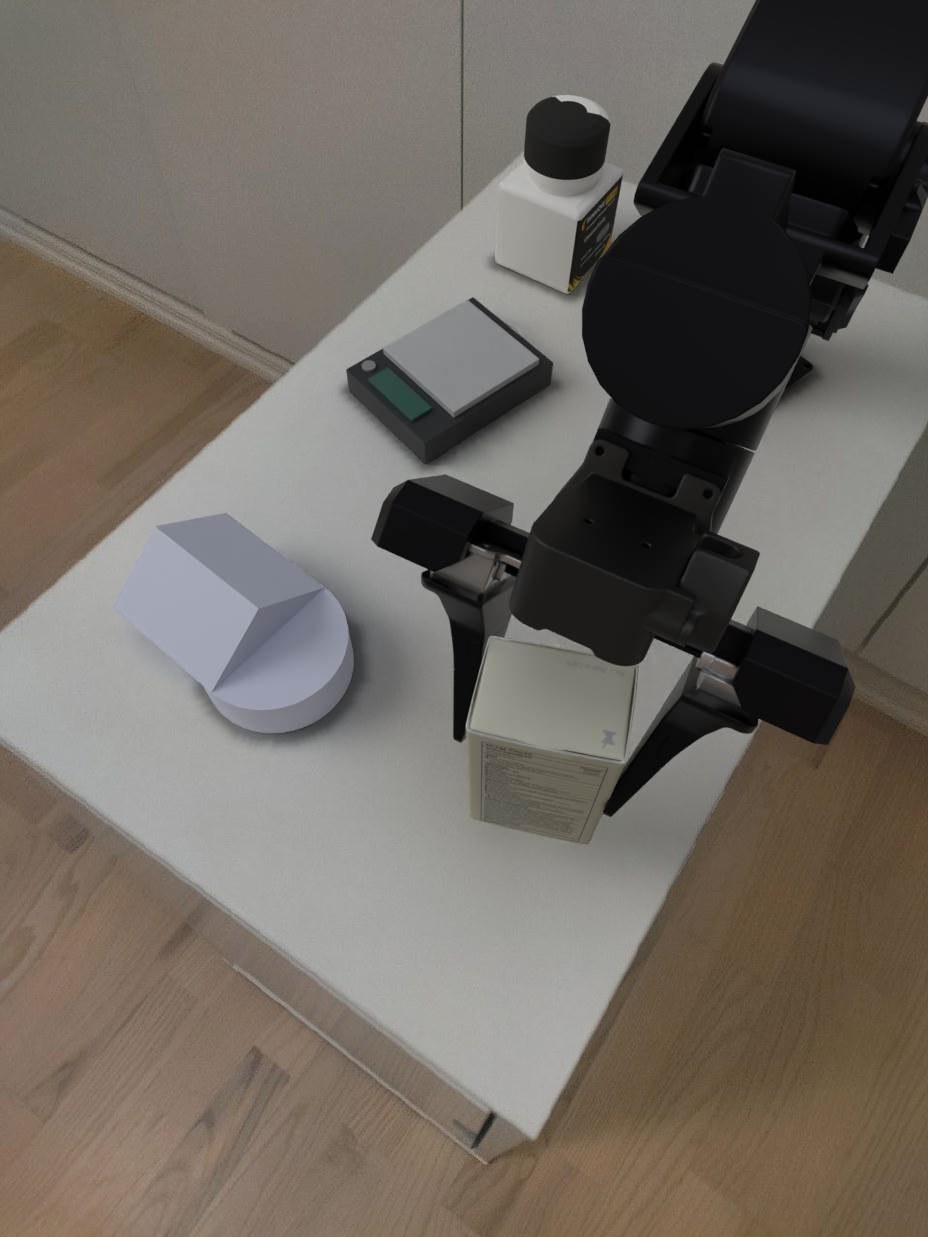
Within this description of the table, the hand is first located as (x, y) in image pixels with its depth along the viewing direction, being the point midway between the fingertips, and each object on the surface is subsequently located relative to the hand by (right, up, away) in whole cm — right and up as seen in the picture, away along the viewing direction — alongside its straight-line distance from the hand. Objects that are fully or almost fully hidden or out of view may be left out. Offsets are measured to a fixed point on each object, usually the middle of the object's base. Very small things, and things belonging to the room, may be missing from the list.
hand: (531, 774), depth 37 cm
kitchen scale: (-4, +24, +27) cm, 36 cm away
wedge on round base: (-16, +5, +16) cm, 23 cm away
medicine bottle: (+4, +37, +35) cm, 51 cm away
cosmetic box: (+1, -2, +7) cm, 7 cm away
